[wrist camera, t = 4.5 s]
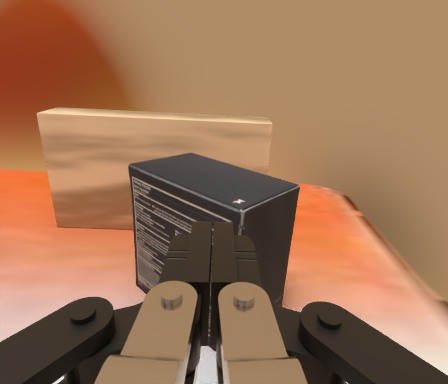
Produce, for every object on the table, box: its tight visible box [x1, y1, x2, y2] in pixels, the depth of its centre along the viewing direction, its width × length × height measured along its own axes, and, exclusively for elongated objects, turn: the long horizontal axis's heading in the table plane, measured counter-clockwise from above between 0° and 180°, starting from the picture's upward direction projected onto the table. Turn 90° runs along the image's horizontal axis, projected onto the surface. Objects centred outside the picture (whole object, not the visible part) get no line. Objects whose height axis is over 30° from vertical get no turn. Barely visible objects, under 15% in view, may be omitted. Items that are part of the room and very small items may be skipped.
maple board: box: [37, 108, 273, 230], centre depth 33 cm, size 4×22×12 cm, turn 90°
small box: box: [128, 153, 300, 350], centre depth 22 cm, size 11×6×10 cm, turn 48°
